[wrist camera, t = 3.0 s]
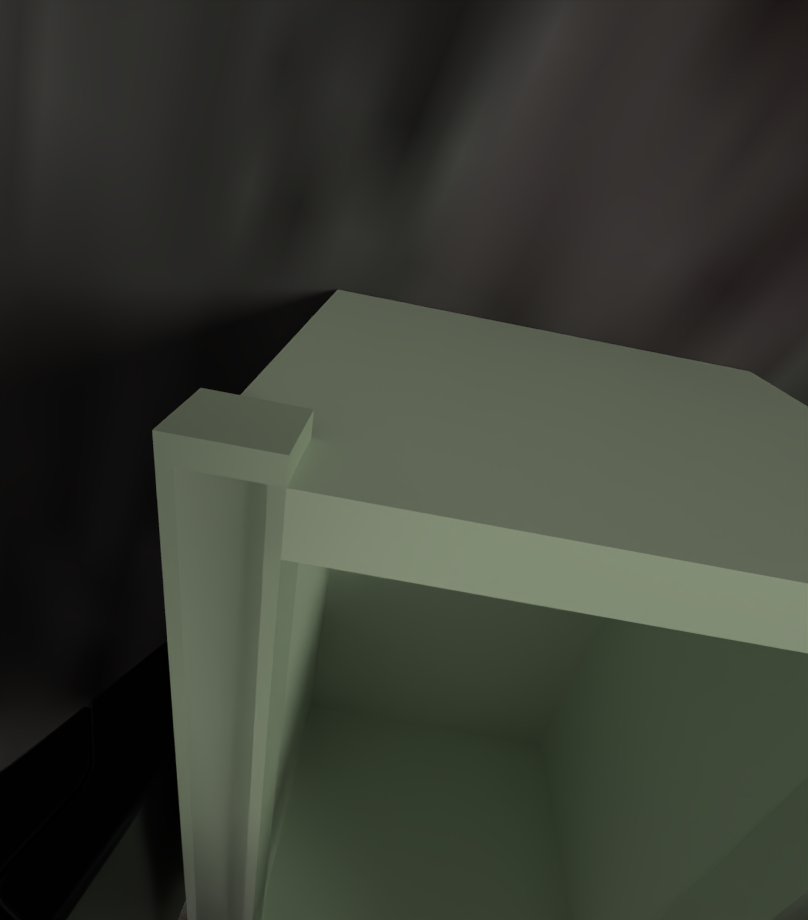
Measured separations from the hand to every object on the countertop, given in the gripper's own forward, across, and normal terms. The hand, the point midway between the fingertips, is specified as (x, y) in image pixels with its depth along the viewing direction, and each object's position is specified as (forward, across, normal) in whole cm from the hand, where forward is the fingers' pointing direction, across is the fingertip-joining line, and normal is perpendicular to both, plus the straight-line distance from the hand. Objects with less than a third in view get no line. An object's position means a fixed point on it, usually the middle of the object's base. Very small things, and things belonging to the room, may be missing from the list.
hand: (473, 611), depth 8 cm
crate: (+1, 0, 0) cm, 1 cm away
